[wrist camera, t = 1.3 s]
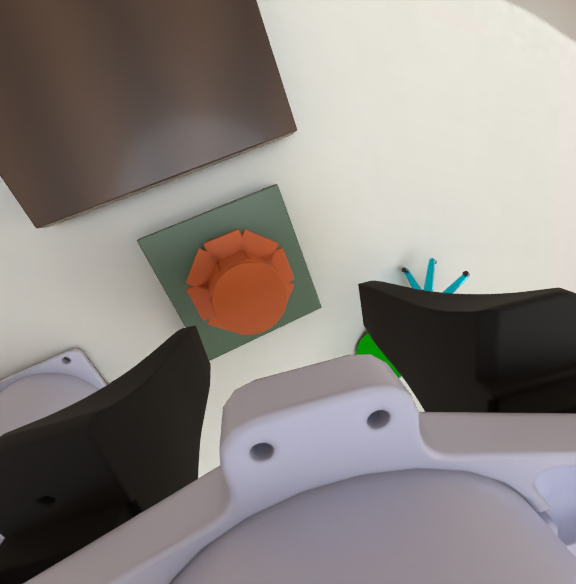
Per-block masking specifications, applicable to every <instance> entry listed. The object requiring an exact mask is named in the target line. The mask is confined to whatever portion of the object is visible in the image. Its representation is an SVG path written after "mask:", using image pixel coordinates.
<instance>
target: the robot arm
mask: <svg viewBox="0 0 576 584" xmlns="http://www.w3.org/2000/svg"><path fill="white" fill-rule="evenodd" d="M358 285H359V293H360V301H361V308H362V316H363V324H364V326H365V328H366V330H367V332H368V333H369V335H370V337H371V338H372V340H373V341H374V343H375V344H376V345H377V347H378V348H379V349H380V350H381V351H382V353H383V354H384V355H385V356H386V358H387V359H388V360H389V361H390V362H391V364H392V365H393V366H394V367H395V368H396V370H397V371H398V372H399V373H400V374H401V376H402V377H403V378H404V380H405V381H406V382H407V384H408V385H409V387H410V388H411V390H412V391H413V393H414V394H415V396H416V397H417V399H418V401H419V402H420V404H421V405H422V407H423V409H424V410H425V412H418V409H417V407H416V405H415V402H414V400H413V398H412V395H411V394H410V393H409V391H408V390H407V389H406V387H405V386H404V385H403V384H402V382H401V381H400V380H399V378H398V377H397V376H396V374H395V373H394V372H393V371H392V369H391V368H390V367H389V365H388V364H387V363H386V362H384V361H382V360H380V359H378V358H376V357H374V356H373V355H371V354H364V355H347V356H343V357H339V358H336V359H332V360H328V361H324V362H321V363H317V364H313V365H309V366H305V367H302V368H298V369H294V370H290V371H287V372H283V373H279V374H275V375H272V376H268V377H264V378H260V379H256V380H254V381H252V382H250V383H248V384H246V385H244V386H242V387H240V388H238V389H236V390H234V392H233V393H232V395H231V396H230V398H229V399H228V401H227V402H226V404H225V405H224V407H223V415H222V427H221V438H220V466H219V467H217V468H215V469H214V470H212V471H210V472H209V473H207V474H205V475H204V476H202V477H200V478H199V479H198V464H199V449H200V438H201V431H202V425H203V420H204V415H205V409H206V404H207V399H208V393H209V387H210V362H209V359H208V357H207V354H206V351H205V349H204V346H203V343H202V341H201V338H200V335H199V333H198V330H197V327H196V325H195V326H191V327H187V328H183V329H180V330H179V331H177V332H176V333H175V334H173V335H172V336H171V337H170V338H169V339H167V340H166V341H165V342H164V343H163V344H162V345H160V346H159V347H158V348H157V349H156V350H155V351H153V352H152V353H151V354H150V355H149V356H147V357H146V358H145V359H144V360H142V361H141V362H140V363H139V364H137V365H136V366H135V367H133V368H132V369H131V370H129V371H128V372H126V373H125V374H124V375H122V376H121V377H119V378H118V379H116V380H115V381H113V382H111V383H110V384H108V385H107V384H106V383H105V382H104V380H103V379H102V378H101V376H100V375H99V373H98V372H97V371H96V369H95V368H94V367H93V365H92V364H91V363H90V361H89V360H88V358H87V357H86V356H85V354H84V353H83V352H82V351H81V350H80V349H76V348H74V349H70V350H68V351H66V352H63V353H61V354H59V355H57V356H54V357H52V358H50V359H47V360H45V361H43V362H41V363H38V364H36V365H34V366H32V367H29V368H27V369H25V370H22V371H20V372H18V373H16V374H13V375H11V376H9V377H6V378H4V379H2V380H0V584H576V293H573V292H570V291H568V290H565V289H562V288H551V289H543V290H535V291H527V292H518V293H504V294H452V293H440V292H432V291H425V290H419V289H414V288H409V287H404V286H399V285H395V284H390V283H386V282H380V281H368V282H364V283H360V284H358ZM64 357H68V358H70V360H71V361H66V360H65V359H64Z"/></svg>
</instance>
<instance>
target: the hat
mask: <svg viewBox="0 0 576 584" xmlns="http://www.w3.org/2000/svg"><path fill="white" fill-rule="evenodd" d="M204 246H205V249H206V250H204V249H201V248H199V249H198V251H197V254H196V257H195V259H194V262H193V265H192V267H191V270H190V273H189V275H188V278H187V281H186V284H189V285H192V286H190V287H188V288H187V289H186V290H187V292H188V294H189V296H190V298H191V299H192V301H193V303H194V305H195V307H196V309H197V311H198V313H199V314H200V316H201V318H202V320H203V321H204V320H206V319H208V318H209V320H208V325H211V326H215V327H218V328H221V329H225V330H228V331H232V332H235V333H238V334H243V335H253V334H258V333H261V332H264V331H266V330H268V329H270V328H271V327H272V326H274V325H275V324H276V323H277V322H278V321H279V319H280V318H281V316H282V315H283V313H284V311H285V308H286V304H287V301H288V299H289V296H290V294H291V292H292V289H293V287H294V284H293V283H291V282H290V281H292V280H294V276H293V273H292V271H291V268H290V265H289V263H288V260H287V258H286V255H285V252H284V250H283V248H282V247H280V248H278V249H277V246H278V243H277V242H275V241H272V240H270V239H268V238H265V237H263V236H261V235H258V234H256V233H254V232H251V231H249V230H247V229H244V231H243V233H242V235H241V233H240V230H239V229H236V230H234V231H231V232H229V233H226V234H224V235H222V236H219V237H217V238H214V239H212V240H210V241H207V242H205V243H204Z"/></svg>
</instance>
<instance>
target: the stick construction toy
mask: <svg viewBox="0 0 576 584" xmlns="http://www.w3.org/2000/svg"><path fill="white" fill-rule="evenodd" d="M436 263H437V261H436V260H435V259H433V258H431V259H430V260H429V264H428V269H427V274H426V280H425V285H424V290H425V291H432V292H433V283H434V270H435V264H436ZM402 272H404V273H405V275H406V277H407V279H408V281H409V283H410V285H411V287H412V288H414V289H419V290H422V289H421V287H420V286H419V284H418V283H417V281H416V280H415V278H414V277H413V275H412V274H411V272H410V271H409V270H408V269H407V268H402ZM469 276H470V273H469V272H468V271H464V272H463V275H461V276H460V277H459V278H458V279H457V280H456V281H455V282H454V283H452V284H451V285H450V286H449V287H448V288H447V289H446V290H445V291H443V292H442V293H452V294H453V293H454V292H455V291H456V290H457V289H458V288H459V287H460V286H461V285H462V283H463V282H464V281H465V280H466V279H467V278H468V277H469ZM364 354H371V355H373V356H374V357H376V358H378V359H380V360H382V361H384V362H386V363H387V364H388V365H389V367H390V368H391V369H392V371H393V372H394V373H395V374H396V376H397V377H398V378H400V377H402V376H401V374H400V373H399V372H398V371H397V370H396V368H395V367H394V366H393V365H392V364H391V362H390V361H389V360H388V359H387V358H386V356H385V355H384V354H383V353H382V351H381V350H380V349H379V348H378V347H377V345H376V344H375V343H374V341H373V340H372V338H371V337H370V335H369V333H368V334H366V335H365V336H364V337H363V338H362V339H361V341H360V342H359V344H358V347H357V352H356V355H364Z"/></svg>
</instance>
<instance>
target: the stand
mask: <svg viewBox="0 0 576 584" xmlns="http://www.w3.org/2000/svg"><path fill="white" fill-rule="evenodd" d="M296 131H297V128H296V125H295V122H294V118H293V115H292V112H291V109H290V106H289V103H288V99H287V96H286V93H285V90H284V87H283V84H282V80H281V77H280V74H279V71H278V68H277V65H276V61H275V58H274V55H273V52H272V49H271V46H270V42H269V39H268V36H267V33H266V30H265V27H264V23H263V20H262V17H261V14H260V11H259V8H258V4H257V1H256V0H0V176H1V177H2V179H3V180H4V182H5V183H6V185H7V186H8V188H9V189H10V190H11V192H12V193H13V195H14V196H15V198H16V199H17V201H18V202H19V204H20V205H21V207H22V208H23V210H24V211H25V213H26V214H27V216H28V217H29V218H30V220H31V221H32V223H33V224H34V226H35V227H36V228H45V227H49V226H52V225H54V224H57V223H60V222H62V221H65V220H68V219H70V218H73V217H76V216H78V215H81V214H84V213H86V212H89V211H91V210H94V209H97V208H99V207H102V206H105V205H107V204H110V203H113V202H115V201H118V200H121V199H123V198H126V197H128V196H131V195H134V194H136V193H139V192H142V191H144V190H147V189H150V188H152V187H155V186H158V185H160V184H163V183H165V182H168V181H171V180H173V179H176V178H179V177H181V176H184V175H187V174H189V173H192V172H195V171H197V170H200V169H202V168H205V167H208V166H210V165H213V164H216V163H218V162H221V161H224V160H226V159H229V158H232V157H234V156H237V155H239V154H242V153H245V152H247V151H250V150H253V149H255V148H258V147H261V146H263V145H266V144H269V143H271V142H274V141H276V140H279V139H282V138H284V137H287V136H290V135H292V134H293V133H294V132H296Z"/></svg>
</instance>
